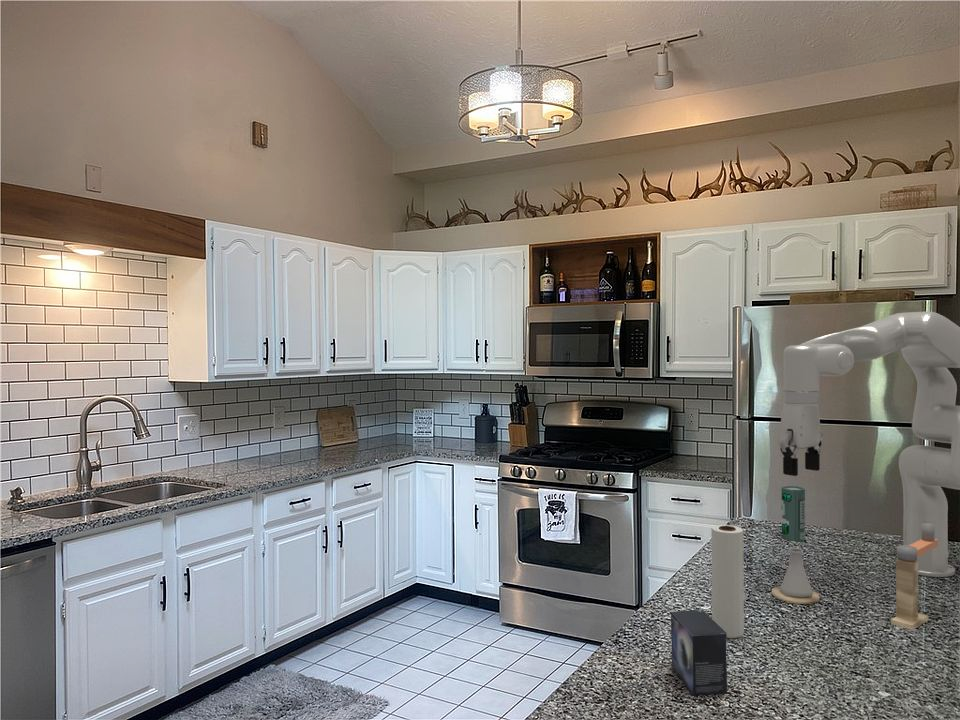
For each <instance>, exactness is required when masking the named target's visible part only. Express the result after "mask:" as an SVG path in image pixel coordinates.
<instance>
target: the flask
mask: <svg viewBox="0 0 960 720" xmlns="http://www.w3.org/2000/svg"><path fill="white" fill-rule="evenodd" d="M788 552H789V561H788V566H787V569H786V571H785V575H784V578H783V580H782V582H781V585H780V586H781V587H780V590H779V591H780V592H782V593H783V594H785V595H788V596H794V597H812V594H813V591H814V590H813V589H812V586H811V584H810V581H809V579H808V575H807V572H806V570H805V568H804V567H805V566H804V563H803V554H804V550H803V549H802V548H797V547H790V548H788ZM812 590H813V591H812Z"/></svg>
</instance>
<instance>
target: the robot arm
mask: <svg viewBox="0 0 960 720" xmlns="http://www.w3.org/2000/svg"><path fill="white" fill-rule="evenodd" d="M783 349H784V350H783V407H782V410H781V417H780V430H779V431H780V432H779V433H780V434H779V440H778V442H779V446H780V448H779V450H780V452H781V457H782V469H783V470H782V473H783V475H786V476H791V477H797V476H798V475H799V473H798V472H799V466H798V465H799V460H798V458H797V454H798V453H799V450H804V449H805V450H806V452H805V453H804V469H805V470H810V471H814V472H815V471H816V472H817V471H820V469H821V467H820V463H821V462H820V460H821V459H820V456H821V455H820V454H821V446H822V439H823V434H824V433H823V432H822V431H821V421H820V410H819V406H820V376H823V377H841V376H843V375H845V374H847V373H849V372H850V371H851V370H852V368H853V367H854V364H855V362H856V363H858V362H866V361H867V362H868V361H873V360H877V359H879V358H882V357H884V356H887V355H888V354H891V353H894V352H896V351H899V350H901V354H902V357H903V359H904V361H906V363H907V364H908V367H909V368H910V369H911V370H912V373H913V374H914V375H915V379H916V383H917V384H916V385H917V389H916V396H915V403H914V409H913V415H912V422H911V429H912V432H913V434H914V435H915V437H917V438H919V439H922V440H925V441H930V442H938V443H946V444H951V445H950V446H951V447H950V448H946V447H938V446H933V445H924V444H923V445H922V444H915V445H910V446H908V447H907V446H906V447H905V448H904V449H903V450H902V451H901V452H900V455H899V457H898V468H899V473H900V478H901V482H902V491H903V492H902V493H903V494H902V495H903V507H902V508H903V513H902V514H903V519H902V520H903V526H902V528H903V531H902V532H903V535H902V536H903V537H902V538H903V540H902V541H903V544H902V545H907V546H909V545H911V544H913V543H915V542H917V541H919V540H921V539H922V523H931V524H934V525H935V539H938V547H936V548H934V549H932V550H930V551H929V552H927V553H925V554H923V555H921V556H919V557H918V558H917V560H918V576H921V577H923V576H924V577H929V578H930V577H931V578H947V577H948V578H949V577H952V576H954V575H955V574H956V568H955V567H954V566H953V565H951V564H949V563H948V556H949V555H950V552H949V550H948V545H949V544H948V540H949V539H948V527H949V525H948V517H949V516H948V514H949V513H948V511H949V510H948V509H949V506H948V499H947V497H946V494H945V492H944V489H943V488H947V489H953V490H959V491H960V405H956V402H957V401H956V399H957V393H958V387H957V386H958V385H957V381H956V379H955V378H954V376H953V374H952V373H951V371H950V370H949V368H951V369H952V368H953V369H960V326H958V325H957V324H956V323H954V322H953V321H951V320H950V319H949V318H947V317H946V316H945V315H941V314H940V313H939V312H938V313H937V312H934V311H930V310H929V311H910V312H909V311H907V312H899V313H893V314H890V315H888V316H885V317H882V318H880V319H877V320H874V321H871V322H870V323H867V324H864V325H861V326H859V327H854V328H850V329H847V330H846V329H845V330H843V331H837V332H834V333H829V334H826V335H822V336H819V337H815V338H812V339H810V340H808V341H805V342H802V343H800V344H797V345H795V344H794V345H789V346H788V345H787V346H786V347H785V348H783ZM942 487H943V488H942Z"/></svg>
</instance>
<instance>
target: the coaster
mask: <svg viewBox="0 0 960 720" xmlns="http://www.w3.org/2000/svg"><path fill="white" fill-rule="evenodd" d="M780 587H781V585H777V586H774V587H772V589H771V595H773V596H774V597H776V598H777V600H778V599H780V600H783V601H786V602H785V603H787V602H789V603H788V604H792V603H794V604H793V605H800V604H809V605H814V604H813V603H815V604H817V603H819V602H820V594H819V593H818V592H816V590H813V589H812V591H813V594H812V597H794V596H788V595H785V594H783V593H782V592H780V591H779V590H780ZM773 596H772V597H773ZM774 597H773V598H774ZM776 598H775V599H776ZM780 600H779V601H780ZM783 601H782V602H783ZM818 601H819V602H818ZM816 602H817V603H816Z"/></svg>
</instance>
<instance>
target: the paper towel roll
mask: <svg viewBox="0 0 960 720" xmlns="http://www.w3.org/2000/svg"><path fill="white" fill-rule="evenodd" d="M744 565H745V564H744V529H743V528H742V527H740V526H738V525H735V524H733V523H731V522H730V524H729V525H728V524H720V525H713V526H712V527H711V618H712V619H713V620H714V621H715V622H716V623H717V624H718V625H719V626H720V627H721V628H722V629H723V630H724V631H725V632H726V633H727V638H728V639H729V638H730V639H737V638H741V637H744V633H745V615H744V613H745V612H744V611H745V608H744V607H745V606H744V605H745V601H744V598H745V597H744V596H745V595H744V593H745V591H744V590H745V589H744V588H745V587H744V583H745V582H744V581H745V580H744V578H745V577H744V575H745V574H744V570H745V569H744ZM727 638H726V639H727Z"/></svg>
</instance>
